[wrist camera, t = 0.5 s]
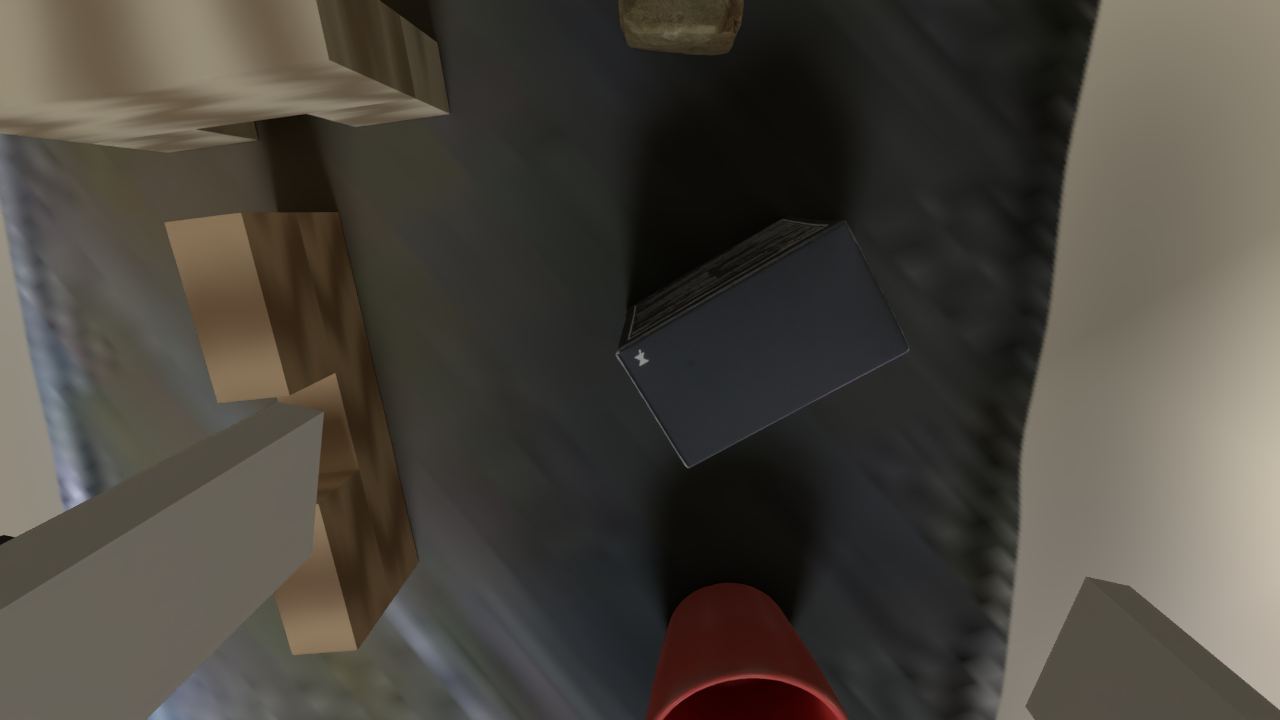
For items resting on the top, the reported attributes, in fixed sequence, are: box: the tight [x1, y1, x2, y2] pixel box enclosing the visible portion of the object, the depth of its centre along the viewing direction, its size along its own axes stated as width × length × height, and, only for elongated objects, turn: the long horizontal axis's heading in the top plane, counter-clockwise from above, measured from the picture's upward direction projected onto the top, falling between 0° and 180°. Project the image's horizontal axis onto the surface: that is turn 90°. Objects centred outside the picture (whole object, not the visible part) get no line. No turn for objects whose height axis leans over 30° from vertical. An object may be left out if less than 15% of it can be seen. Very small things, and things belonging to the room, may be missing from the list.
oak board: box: [165, 212, 419, 655], centre depth 33 cm, size 22×4×8 cm, turn 7°
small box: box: [616, 215, 909, 468], centre depth 29 cm, size 11×6×10 cm, turn 121°
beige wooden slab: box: [0, 0, 450, 152], centre depth 27 cm, size 16×4×12 cm, turn 97°
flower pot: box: [646, 583, 849, 720], centre depth 35 cm, size 11×11×10 cm
